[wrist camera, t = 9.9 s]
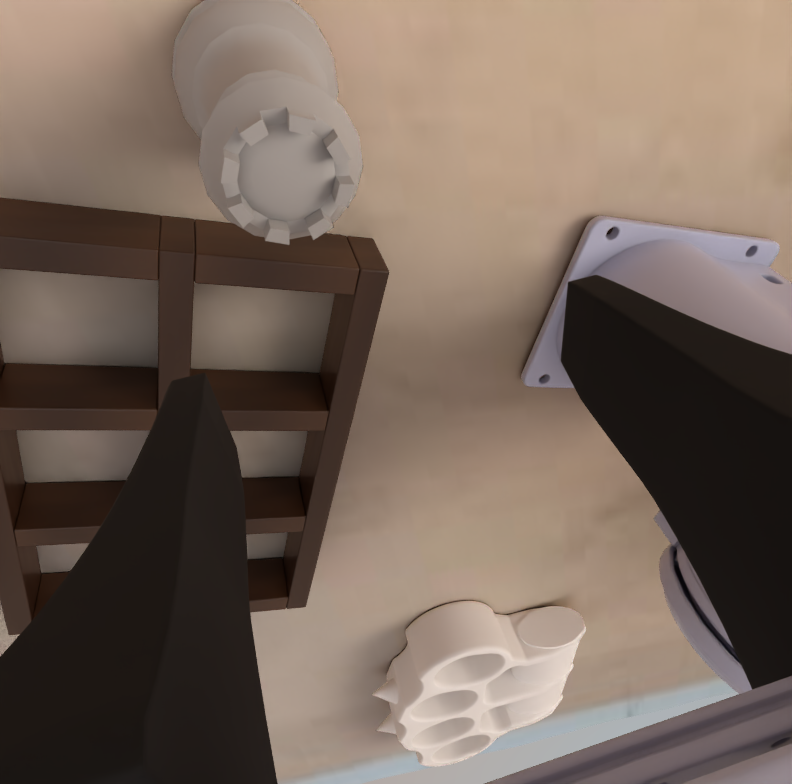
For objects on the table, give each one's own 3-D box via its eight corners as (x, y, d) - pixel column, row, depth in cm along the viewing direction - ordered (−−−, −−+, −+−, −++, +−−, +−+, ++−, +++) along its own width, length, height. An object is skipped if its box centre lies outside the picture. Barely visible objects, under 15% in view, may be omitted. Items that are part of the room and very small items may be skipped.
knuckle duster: (543, 690, 53) (374, 738, 50) (579, 569, 41) (359, 624, 38) (561, 732, 50) (384, 784, 48) (604, 615, 38) (372, 677, 36)
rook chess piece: (297, 176, 20) (343, 311, 14) (151, 115, 18) (134, 244, 12) (358, 33, 18) (444, 122, 12) (201, -56, 16) (211, -1, 10)
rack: (373, 238, 22) (390, 271, 20) (299, 567, 33) (305, 607, 31) (-67, 189, 18) (-95, 227, 16) (19, 588, 29) (8, 636, 27)
